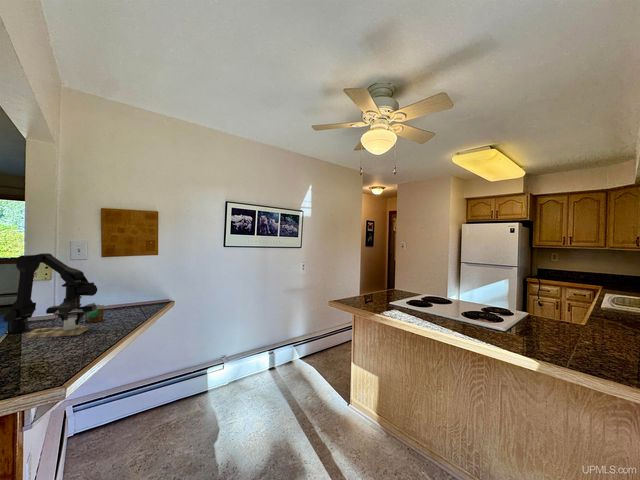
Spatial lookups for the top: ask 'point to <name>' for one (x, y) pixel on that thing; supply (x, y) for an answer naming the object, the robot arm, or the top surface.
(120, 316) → the top surface
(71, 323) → the nut block
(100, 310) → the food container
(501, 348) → the top surface
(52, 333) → the rail
